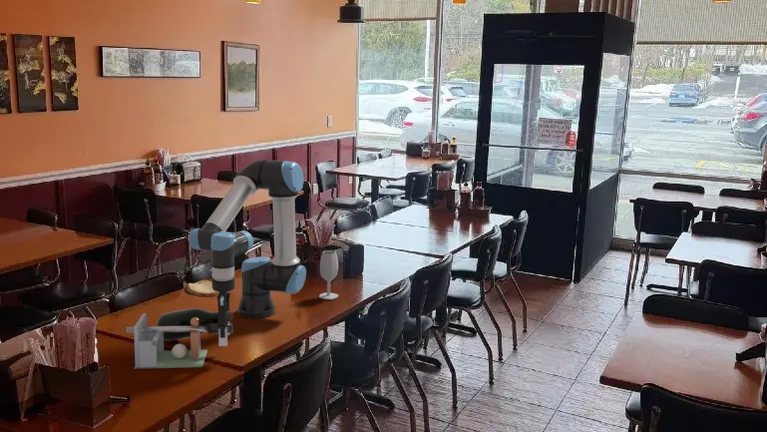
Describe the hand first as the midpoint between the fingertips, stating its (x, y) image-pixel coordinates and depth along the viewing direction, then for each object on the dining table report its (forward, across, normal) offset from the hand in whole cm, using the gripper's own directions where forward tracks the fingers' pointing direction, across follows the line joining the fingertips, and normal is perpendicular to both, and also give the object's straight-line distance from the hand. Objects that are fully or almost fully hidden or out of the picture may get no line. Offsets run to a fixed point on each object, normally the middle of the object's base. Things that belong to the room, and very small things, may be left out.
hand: (224, 339), depth 237 cm
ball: (+3, +1, -15) cm, 16 cm away
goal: (+6, +1, -25) cm, 26 cm away
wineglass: (+8, -66, +40) cm, 77 cm away
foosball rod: (+5, +1, -15) cm, 16 cm away
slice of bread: (+8, -79, -16) cm, 81 cm away
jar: (+6, +20, -42) cm, 47 cm away
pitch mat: (+6, +1, -18) cm, 19 cm away
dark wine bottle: (+2, -19, -22) cm, 29 cm away
